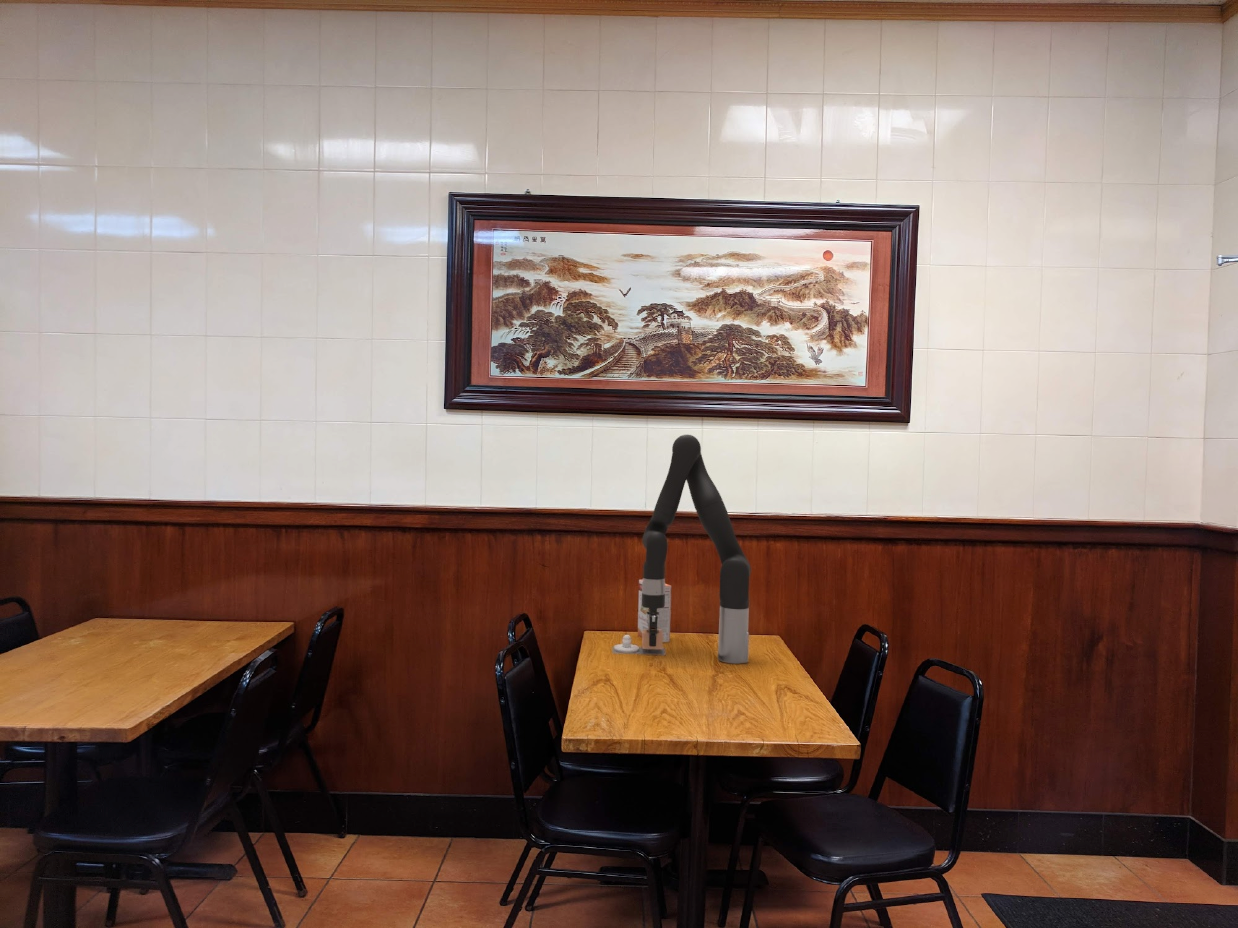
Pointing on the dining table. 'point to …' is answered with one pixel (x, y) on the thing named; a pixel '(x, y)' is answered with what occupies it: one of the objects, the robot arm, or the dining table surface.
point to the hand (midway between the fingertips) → (652, 643)
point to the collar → (658, 639)
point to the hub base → (635, 648)
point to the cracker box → (663, 612)
